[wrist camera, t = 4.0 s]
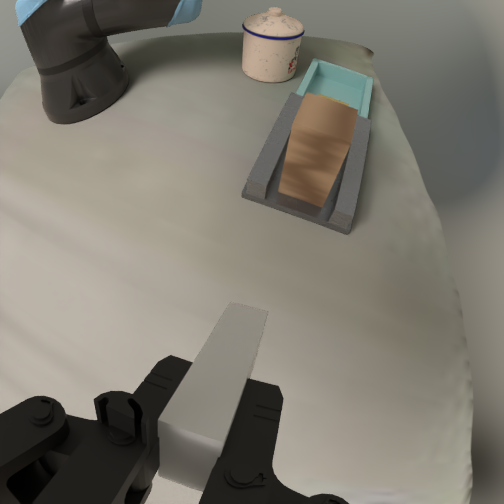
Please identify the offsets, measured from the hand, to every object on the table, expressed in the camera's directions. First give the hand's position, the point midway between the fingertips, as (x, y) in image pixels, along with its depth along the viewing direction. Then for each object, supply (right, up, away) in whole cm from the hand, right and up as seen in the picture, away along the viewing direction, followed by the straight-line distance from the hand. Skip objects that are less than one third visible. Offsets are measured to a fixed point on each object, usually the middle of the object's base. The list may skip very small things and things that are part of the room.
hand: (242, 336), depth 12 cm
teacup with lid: (+3, +34, +33) cm, 47 cm away
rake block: (+6, +11, +21) cm, 25 cm away
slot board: (+8, +14, +24) cm, 29 cm away
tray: (+13, +26, +29) cm, 41 cm away
